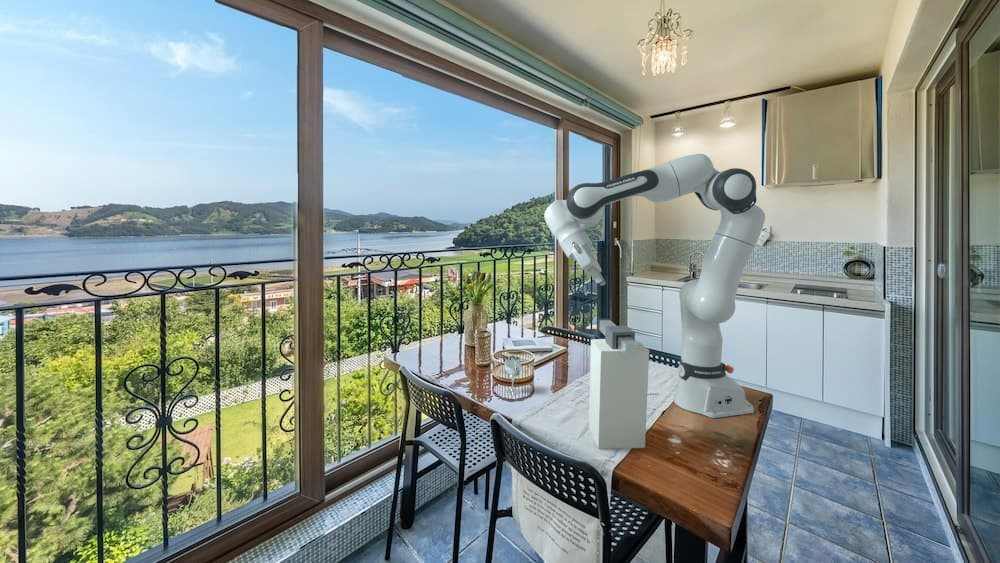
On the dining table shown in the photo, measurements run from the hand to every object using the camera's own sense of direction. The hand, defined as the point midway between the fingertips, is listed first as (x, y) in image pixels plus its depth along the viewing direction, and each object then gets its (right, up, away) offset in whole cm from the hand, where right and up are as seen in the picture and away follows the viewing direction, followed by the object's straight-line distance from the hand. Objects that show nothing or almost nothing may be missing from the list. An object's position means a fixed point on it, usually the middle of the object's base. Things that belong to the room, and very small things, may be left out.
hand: (601, 283), depth 120 cm
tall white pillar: (0, -41, -14) cm, 44 cm away
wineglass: (-27, -37, +16) cm, 49 cm away
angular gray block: (0, -15, -15) cm, 22 cm away
